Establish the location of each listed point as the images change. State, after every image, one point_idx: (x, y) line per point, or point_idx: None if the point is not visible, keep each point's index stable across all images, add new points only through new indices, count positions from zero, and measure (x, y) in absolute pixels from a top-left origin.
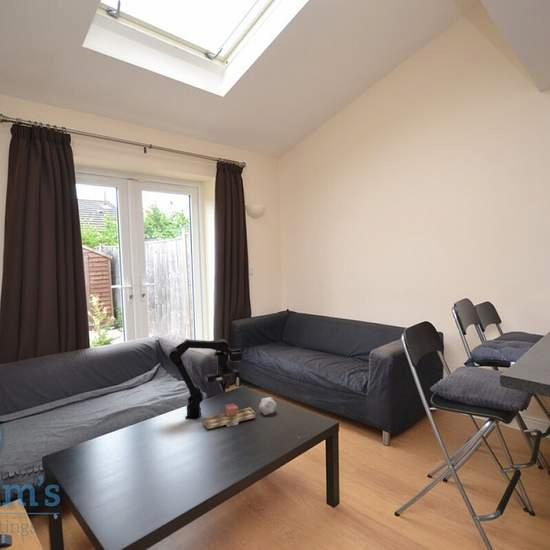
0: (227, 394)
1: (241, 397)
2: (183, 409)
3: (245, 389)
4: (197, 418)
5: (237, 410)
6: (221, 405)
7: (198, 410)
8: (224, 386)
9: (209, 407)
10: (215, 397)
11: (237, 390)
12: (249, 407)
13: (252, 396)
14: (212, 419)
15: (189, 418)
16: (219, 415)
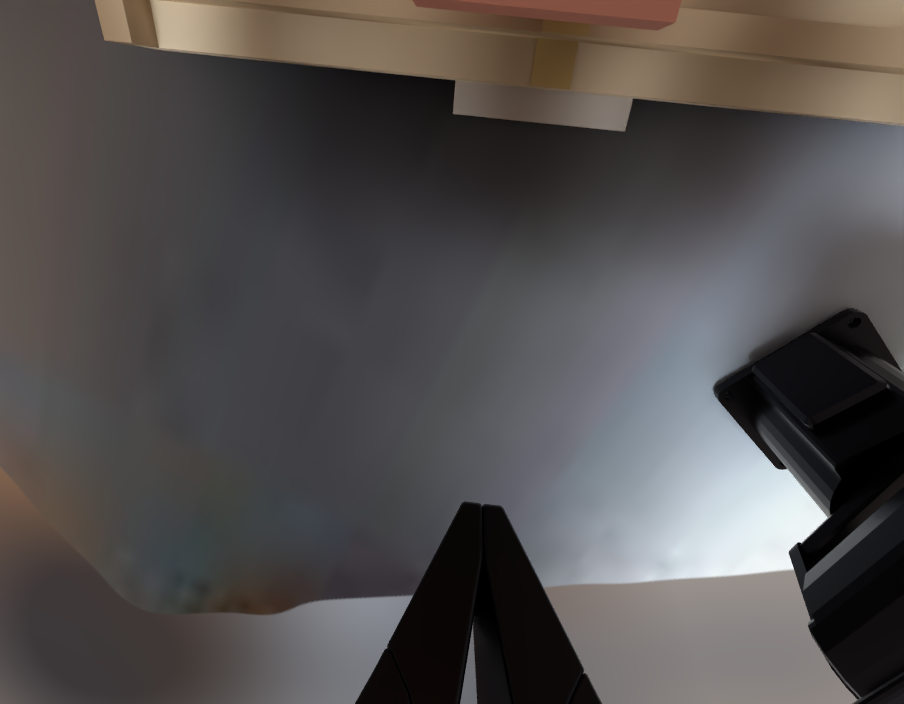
0: (293, 582)
1: (187, 486)
2: (759, 553)
3: (122, 579)
4: (829, 319)
5: (358, 12)
6: (426, 449)
7: (878, 375)
8: (453, 619)
9: (548, 473)
10: (406, 588)
11: (193, 595)
12: (105, 3)
13: (75, 451)
14: (875, 18)
15: (895, 366)
16: (747, 15)
